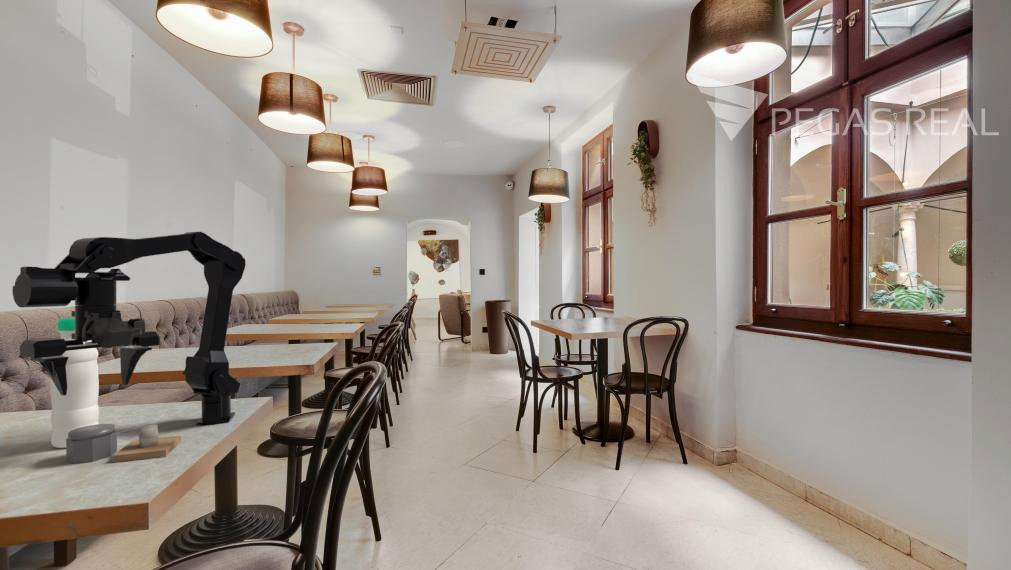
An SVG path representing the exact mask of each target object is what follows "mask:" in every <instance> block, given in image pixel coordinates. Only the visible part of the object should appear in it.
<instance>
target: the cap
mask: <svg viewBox="0 0 1011 570" xmlns="http://www.w3.org/2000/svg"><path fill="white" fill-rule="evenodd" d="M65 449H66V450H65V451H66V455H65V456H66V462H68V463H71V464H75V465H76V464H83V463H90V462H91V463H93V462H96V461H99V460H102V459H106V458H109V457H111V456H113V455H114V454H116V453H117V452H118V432H117V429H116V424H114V423H99V424H97V425H90V426H85V427H81V428H77V429H74V430H72V431H70V432H68V438H67V439H66V448H65Z"/></svg>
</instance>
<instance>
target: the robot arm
mask: <svg viewBox="0 0 1011 570" xmlns="http://www.w3.org/2000/svg"><path fill="white" fill-rule="evenodd" d="M186 251H187V252H189V253H190V255H191V256H192V257H193V259H194V260H196V262H198V263H199V264H200V265H202V266H203V276H204V279H205V281H206V284H207V285H208V291H207V295H206V296H207V297H206V303H205V304H206V305H205V310H204V314H203V315H204V316H203V322H202V323H203V324H202V328H201V335H200V339H199V340H200V341H199V346H198V347H199V348H198V350H197V351H196V352H195V354H194V355H193V356H186V358H185V367H184V368H185V369H184V370H183V373H182V375H183V376H184V377H185V379H184V380H185V383H187V385H188V386H189V387H191V390H192V391H193V394H195V395H201V396H200V397H201V417H200V418H199V420H198V421H196V425H198V426H199V425H208V424H218V423H220V424H221V423H229V422H230V421H231V420H232V419H233V418H234V417H235V415H236V412H232V410H231V409H232V407H231V406H232V404H231V403H232V402H231V401H232V400H231V399H232V398H231V396H233V395H234V394H238V393H239V389H240V385H241V383H240V382H239V381H238V380H236V379H235V378H234V377H233V376H232V375H230V363H229V362H230V361H229V360H228V357H227V354H226V352H225V345H226V340H227V339H226V338H227V333H228V327H229V318H230V313H231V307H232V299H233V293H234V290H235V288H236V286H237V285H238V283H240V281H241V279H242V278H243V274H244V272H245V268H246V266H247V265H246V258H245V257H244V256H243V254H241V253H240V252H238V251H237V250H233V249H232V248H231V247H229V246H228V245H226V244H223V243H221V242H219V241H217V240H216V239H213V238H211V236H209V235H208V234H206V233H205V232H203V231H189V232H188V231H187V232H184V233H179V234H171V235H161V236H151V237H141V238H126V237H124V238H122V237H108V236H106V237H105V236H102V237H101V236H99V237H98V236H97V237H84V238H80V239H76V240H74V241H73V243H72V244H71V245H70V247H69V250H68V254H67V255H66V256H65V257H64V258H63V259H62V260H60V262H59V263H58V264H57V265H56V266H55V267H54V268H45V267H40V266H21V267H20V270H19V271H20V273H19V275H18V276H16V279H15V281H14V282H15V283H14V285H12V297H13V300H14V303H15V304H16V306H18V308H23V309H24V308H50V307H51V308H52V307H67V306H69V305H70V303H71V301H73V302H74V310H71V318H75V333H71V339H75V340H67V341H65V340H64V339H60V338H61V337H60V338H58V337H43V338H31V339H24V341H22V342H21V344H20V346H19V357H24V358H29V359H30V361H33V362H38V363H39V364H40V365H41V366H42V368H43V369H44V370H45V371H46V373H48V375H49V377H51V379H52V380H53V382H54V384H55V386H56V387H57V389H58V391H59V392H60V394H61V395H66V394H67V376H66V363H67V361H68V357H63V353H64V352H65V351H69V350H79V349H89V348H96V349H98V348H101V349H112V348H114V347H120V348H119V356H120V357H119V358H120V378H121V383H122V385H123V386H127V385H129V382H130V381H131V378H132V376H133V373H134V371H135V369H136V367H137V365H138V362H139V361H140V359H141V357H142V356H144V355H145V354H146V353H148V351H152V350H153V346H160V345H161V335H160V334H159V333H158V332H157V331H155V330H154V331H153V330H146V320H144V319H143V318H139V317H138V318H130V319H128V320H123V319H122V313H121V310H119V309H117V282H120V281H121V282H127V281H128V282H129V281H131V277H129V276H128V275H127V274H126V273H124V272H123V271H122V270H121V269H120V268H115V267H118V266H122V265H124V264H128V263H130V262H133V261H134V260H136V259H140V258H144V257H153V256H158V255H165V254H166V255H167V254H173V253H174V254H175V253H179V252H186ZM100 269H110V270H108V271H98V270H100ZM76 274H86V275H85V277H80V276H79V277H76ZM90 340H91V341H92V342H87V341H90ZM83 342H85V344H83Z"/></svg>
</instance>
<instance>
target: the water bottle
mask: <svg viewBox="0 0 1011 570" xmlns="http://www.w3.org/2000/svg"><path fill="white" fill-rule="evenodd" d="M56 325H57V331H58V333H59V334H60V339H64V340H65V341H67V340H75V339H71V333H75V317H71V318H70V317H69V318H62V319H58V321H57V323H56ZM87 342H92V340H90V341H87ZM83 344H85V342H83ZM63 357H68V361H67V363H66V376H67V394H66V395H61V394H60V392H59V391H58V389H57V387H56V386H55V384H54V382H53V380H52V379H51V377H50V376H49V377H50V403H51V407H52V410H51V414H50V422H51V426H52V427H51V428H52V429H51V436H50V437H51V438H50V439H51V441H50V443H51V446H52V447H54V448H56V449H66V439H67V438H68V432H70V431H72V430H74V429H77V428H81V427H85V426H90V425H97V424H100V422H99V418H100V407H99V404H98V401H99V395H100V393H99V391H100V389H99V388H100V387H99V385H100V383H99V381H100V379H99V365H98V358H99V351H98V348H89V349H79V350H69V351H65V352H64V353H63Z"/></svg>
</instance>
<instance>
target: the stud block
mask: <svg viewBox="0 0 1011 570" xmlns="http://www.w3.org/2000/svg"><path fill="white" fill-rule="evenodd" d="M158 427H159V425H158V424H148V425H143V426H140V427H139V428H138V440H131V441H130V442H129V443H128V444H126V445H124V447H122V448H121V449H119V450H117V452H115V453H114V454H113V455H112V463H120V462H129V461H137V460H139V461H140V460H147V459H155V458H164V457H167V456H168V455H169V454H170V453H171V452H173V450H174V449H176V447H177V446H178V445H179V444H181V442H182V437H181V435H179V436H177V435H176V436H168V437H159V435H158V434H159V432H158V431H159V428H158Z"/></svg>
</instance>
